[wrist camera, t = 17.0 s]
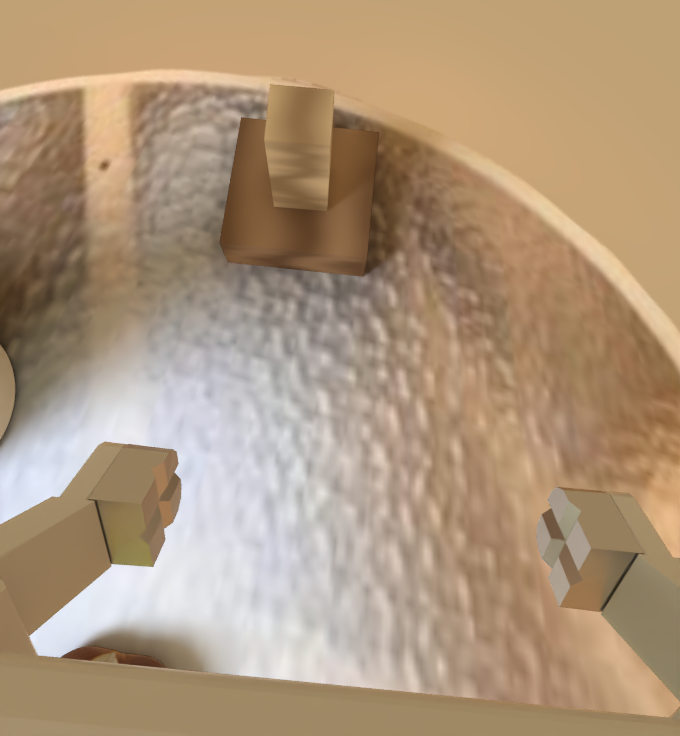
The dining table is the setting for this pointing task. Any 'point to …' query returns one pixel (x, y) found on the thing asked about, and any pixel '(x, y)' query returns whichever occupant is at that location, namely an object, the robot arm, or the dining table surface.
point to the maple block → (299, 146)
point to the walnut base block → (301, 226)
